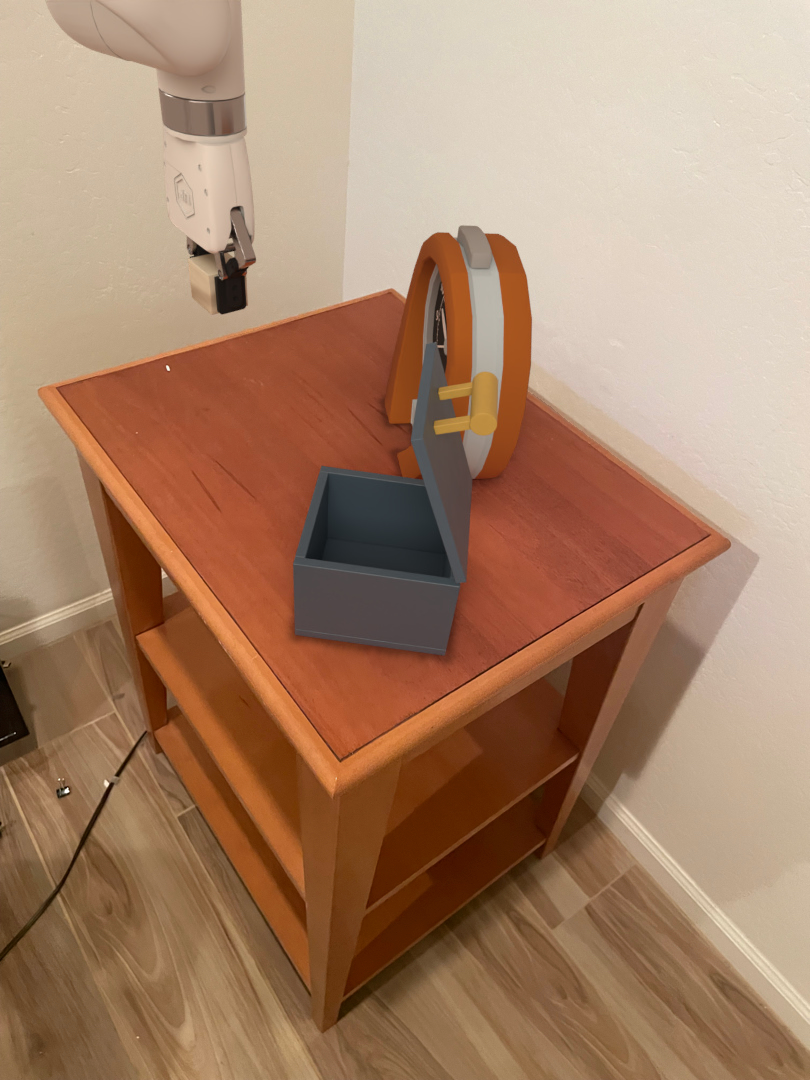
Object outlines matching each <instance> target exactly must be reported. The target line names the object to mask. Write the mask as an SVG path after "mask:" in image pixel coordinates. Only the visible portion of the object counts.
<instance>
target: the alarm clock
mask: <svg viewBox="0 0 810 1080" xmlns="http://www.w3.org/2000/svg"><path fill="white" fill-rule="evenodd" d="M419 249H420V250H419V253H418V255H417V259H416V262H415V264H414V266H413V267H414V268H413V271H412V275H411V279H410V283H409V287H408V291H407V294H406V299H405V302H404V307H403V312H402V315H401V320H400V324H399V329H398V334H397V338H396V343H395V346H394V351H393V354H392V355H393V356H392V359H391V365H390V370H389V375H388V381H387V385H386V392H385V397H384V402H383V404H384V408H385V412H386V415H387V420H388V423H389V424H391V425H396V424H398V425H399V424H411V426H412V427H413V423H414V416H415V410H416V404H417V398H418V391H419V385H420V379H421V373H422V366H423V360H424V354H425V348H426V344H429V343H434V342H436V343H437V346H438V350H439V354H440V358H441V362H442V366H443V369H444V373H445V377H446V381H447V385H448V386H452V385H458V384H463V383H469V382H472V381H473V378H474V377H475V376H476V375H477V374H478V373H481V372H490V373H492V374H494V375H495V376H496V377H497V379H498V409H497V428H496V430H495V431H494V432H493V433H491V434H489V435H485V436H481V435H477V434H475V433H474V432H473V431H472V430H464V431H460V435H461V439H462V443H463V446H464V450H465V454H466V458H467V462H468V466H469V470H470V473H471V477H472V480H483V479H485V480H486V479H495V478H497V477H499V476H500V475H501V474H502V473H503V472H504V471H505V469H506V468H507V467H508V465H509V463H510V460H511V458H512V456H513V454H514V451H515V449H516V447H517V444H518V440H519V436H520V432H521V427H522V424H523V419H524V416H525V411H526V407H527V399H528V391H529V384H530V375H531V367H532V340H533V339H532V338H533V337H532V336H533V335H532V334H533V333H532V332H533V315H532V308H531V300H530V292H529V283H528V277H527V276H528V275H527V273H526V270H525V267H524V264H523V262H522V259H521V257H520V253H519V251H518V248H517V246H516V244H514V243H513V242H512V241H510V240H509V239H508V238H507V237H506V236H504V235H502V234H500V233H489V232H488V233H484V231H483V230H482V228H480V227H479V226H477V225H464V224H463V225H459V226H458V229H457V236H456V237H454V236H453V235H452V234H451V233H450V232H441V231H438V232H435V233H432V234H431V235H430V236H429V237H428V238H426V239H425V240H424V241H423V242H422V244H421V247H420V248H419ZM451 400H452V404H453V408H454V412H455V416H456V417H462V416H468V415H470V410H471V395H470V396H464V397H458V398H452V399H451ZM396 456H397V461H398V464H399V469H400V473H401V477H407V478H414V479H422V480H423V478H422V475H421V472H420V469H419V465H418V462H417V459H416V456H415V453H414V450H413V447H412V444H410V445H409V446H408V447H407V448H406V449H403V450H402V451H401V450H400V451H399V452H397V454H396Z"/></svg>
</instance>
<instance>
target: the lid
mask: <svg viewBox="0 0 810 1080" xmlns="http://www.w3.org/2000/svg"><path fill="white" fill-rule="evenodd" d="M470 395H471V410H470V415H468V416H462V417H456V416H455V412H454V408H453V404H452V400H451V399H452V398H458V397H464V396H470ZM497 409H498V379H497V377H496V376H495V375H494V374H492V373H490V372H481V373H478V374H477V375H476V376H475V377H474V378H473V381H472V382H469V383H463V384H458V385H452V386H448V385H447V381H446V377H445V373H444V369H443V366H442V362H441V358H440V354H439V350H438V346H437V343H436V342H434V343H429V344H426V348H425V354H424V360H423V366H422V373H421V379H420V385H419V391H418V398H417V404H416V410H415V416H414V423H413V426H412V430H411V436H410V445H412V447H413V450H414V453H415V456H416V459H417V462H418V465H419V469H420V472H421V475H422V478H423V481H424V484H425V487H426V491H427V494H428V497H429V500H430V503H431V506H432V509H433V513H434V516H435V519H436V522H437V525H438V528H439V531H440V534H441V538H442V541H443V544H444V547H445V550H446V553H447V556H448V560H449V563H450V566H451V569H452V572H453V575H454V578H455V582H456V583H461V584H464V583H467V581H468V578H467V577H468V563H469V562H468V560H469V546H470V545H469V544H470V530H471V529H470V526H471V510H472V492H473V479H472V477H471V473H470V470H469V466H468V462H467V458H466V454H465V450H464V446H463V443H462V439H461V435H460V431H464V430H472V431H473V432H474V433H475V434H477V435H481V436H485V435H489V434H491V433H493V432H494V431H495V430H496V428H497Z"/></svg>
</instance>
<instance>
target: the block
mask: <svg viewBox="0 0 810 1080" xmlns="http://www.w3.org/2000/svg"><path fill="white" fill-rule="evenodd" d="M224 256H225V262H226V263H227V261H228V260H229V259H230V258H233V257H234V256H233V255H232V254H230V252H228V253H224ZM187 264H188V273H189V283H190V289H191V290H190V291H191V298H192V299H193V300H194V301H196V302H197V304H198V305H200V306H201V307H202V308H203V309H204V310H205V311H206V312H208V313H209V314H210V315H211V316H213V315H217V314H220V313H219V312H218V311H217V303H216V291H215V280H214V277H216V276H218V272H217V267H216V262H215V256H214V254H212V253H211V254H207V255H202V256H197V257H192V258H190V257H188V258H187ZM245 290H246V307H248V306H249V300H248V280H247V274H246V275H245Z"/></svg>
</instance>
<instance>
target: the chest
mask: <svg viewBox="0 0 810 1080" xmlns="http://www.w3.org/2000/svg"><path fill="white" fill-rule="evenodd" d="M292 577H293V579H292V581H293V583H292V584H293V612H294V613H293V614H294V635H295V636H301V637H308V638H315V639H322V640H328V641H335V642H344V643H351V644H358V645H365V646H372V647H378V648H379V647H380V648H387V649H392V650H393V649H394V650H401V651H408V652H416V653H423V654H430V655H437V656H443V657H444V656H446V653H447V648H448V644H449V640H450V635H451V630H452V627H453V622H454V616H455V613H456V607H457V604H458V600H459V595H460V590H461V584H462V583H456V582H455V578H454V575H453V572H452V569H451V566H450V563H449V560H448V556H447V553H446V550H445V547H444V544H443V541H442V538H441V534H440V531H439V528H438V525H437V522H436V519H435V516H434V513H433V509H432V506H431V503H430V500H429V497H428V494H427V491H426V487H425V484H424V481H423V480H422V479H414V478H407V477H402V476H399V475H392V474H384V473H377V472H370V471H362V470H355V469H348V468H340V467H335V466H334V467H333V466H327V465H321V466H320V469H319V472H318V476H317V480H316V483H315V486H314V490H313V493H312V497H311V500H310V504H309V507H308V510H307V513H306V517H305V521H304V524H303V528H302V531H301V535H300V538H299V542H298V544H297V548H296V552H295V556H294V558H293V562H292Z"/></svg>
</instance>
